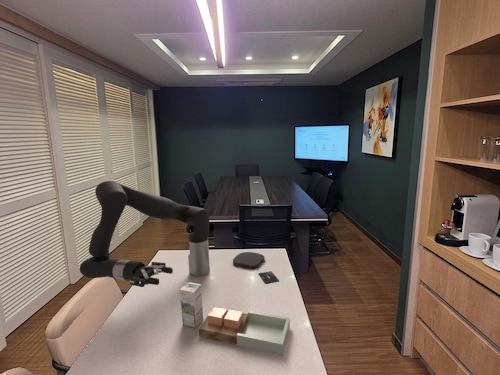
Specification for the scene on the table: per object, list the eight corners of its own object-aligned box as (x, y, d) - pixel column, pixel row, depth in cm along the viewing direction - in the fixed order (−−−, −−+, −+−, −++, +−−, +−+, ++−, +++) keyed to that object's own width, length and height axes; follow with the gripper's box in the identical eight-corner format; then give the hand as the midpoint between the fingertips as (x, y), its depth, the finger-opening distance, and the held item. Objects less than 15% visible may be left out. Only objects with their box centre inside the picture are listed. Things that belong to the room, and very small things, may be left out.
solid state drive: (265, 284, 128) (265, 283, 128) (258, 274, 138) (258, 273, 138) (279, 282, 130) (279, 280, 130) (271, 272, 140) (271, 271, 140)
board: (199, 336, 96) (198, 328, 96) (213, 314, 107) (213, 307, 107) (237, 344, 92) (237, 336, 91) (248, 321, 103) (248, 314, 103)
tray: (237, 345, 92) (236, 335, 91) (249, 320, 104) (248, 310, 103) (282, 355, 87) (282, 344, 86) (289, 328, 99) (289, 318, 99)
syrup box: (203, 318, 105) (201, 283, 102) (196, 329, 100) (193, 291, 97) (190, 315, 107) (188, 280, 104) (182, 326, 102) (179, 289, 99)
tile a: (208, 323, 98) (207, 315, 98) (214, 314, 103) (214, 306, 102) (221, 325, 97) (221, 317, 96) (227, 316, 101) (226, 309, 101)
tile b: (224, 326, 97) (224, 318, 96) (229, 317, 101) (229, 309, 101) (238, 329, 95) (237, 321, 94) (242, 319, 100) (242, 312, 99)
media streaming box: (255, 271, 141) (255, 265, 141) (230, 266, 147) (230, 260, 147) (266, 259, 154) (266, 254, 153) (242, 254, 160) (242, 250, 160)
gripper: (113, 269, 100) (152, 275, 96) (140, 253, 114) (175, 258, 109) (116, 289, 102) (154, 296, 97) (141, 271, 115) (176, 276, 110)
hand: (165, 276), depth 103 cm, fingers open, 8 cm apart
